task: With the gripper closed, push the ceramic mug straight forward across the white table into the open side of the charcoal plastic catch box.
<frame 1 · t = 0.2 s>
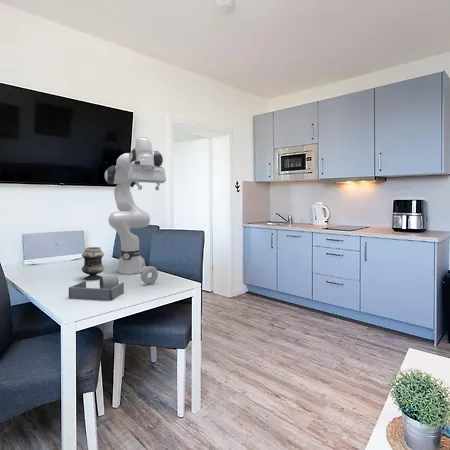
hand: (148, 189, 172), 51 cm above the table, tool tilted 20°, fingers open, 8 cm apart
ceramic mug: (107, 290, 167), on the table
catch box: (97, 295, 157), on the table
donut: (149, 284, 178), on the table
apothecary jar: (93, 278, 190), on the table
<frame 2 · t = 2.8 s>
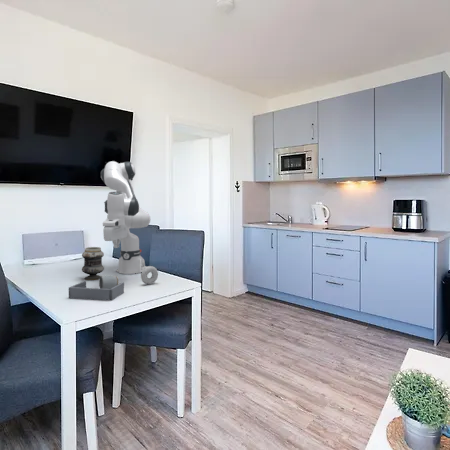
hand: (116, 247, 175), 20 cm above the table, tool pointing down, fingers closed
nothing on the table moved.
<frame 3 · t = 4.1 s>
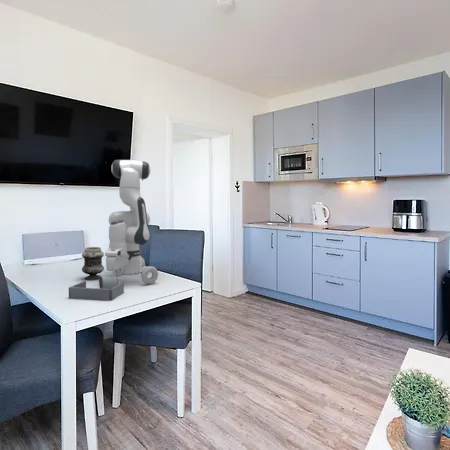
hand: (118, 276, 175), 5 cm above the table, tool pointing down, fingers closed
nothing on the table moved.
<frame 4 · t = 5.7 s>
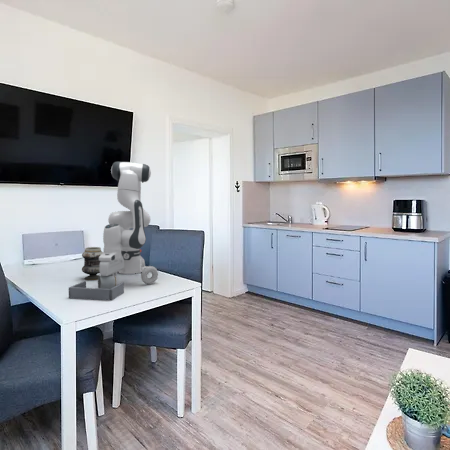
hand: (113, 280, 172), 3 cm above the table, tool pointing down, fingers closed
ceramic mug: (106, 289, 167), on the table, touching gripper
everything else where it was.
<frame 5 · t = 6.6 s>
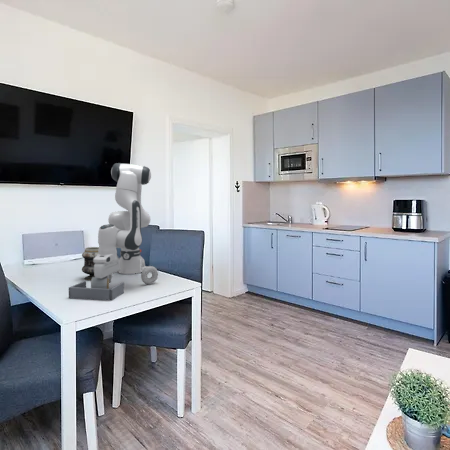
hand: (108, 283, 166), 3 cm above the table, tool pointing down, fingers closed
ceramic mug: (99, 292, 162), on the table, touching gripper
everything else where it was.
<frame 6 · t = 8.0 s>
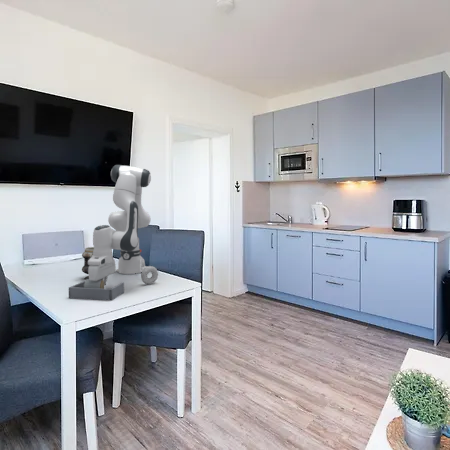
hand: (103, 285, 162), 3 cm above the table, tool pointing down, fingers closed
ceramic mug: (94, 294, 158), on the table, touching gripper
everything else where it was.
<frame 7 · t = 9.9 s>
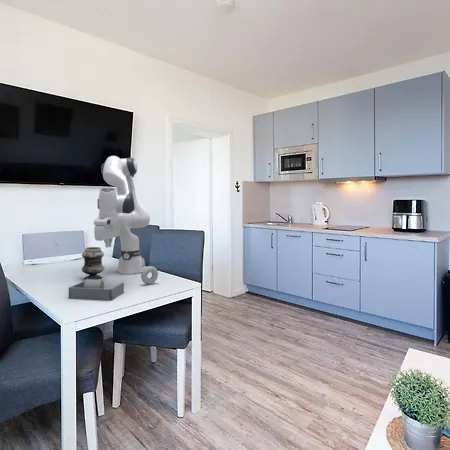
hand: (108, 247, 166), 22 cm above the table, tool pointing down, fingers closed
ceramic mug: (94, 294, 159), on the table
everything else where it was.
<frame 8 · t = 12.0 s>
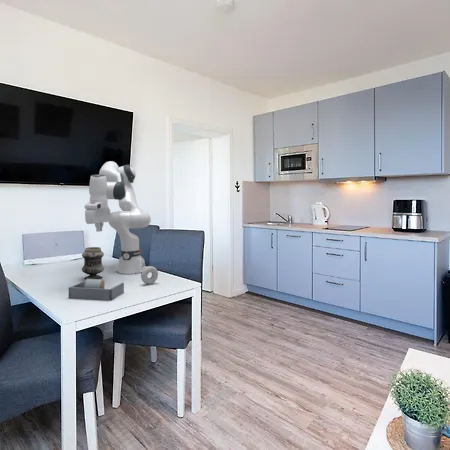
hand: (99, 231, 172), 29 cm above the table, tool pointing down, fingers closed
nothing on the table moved.
at the end: ceramic mug inside the target area on the catch box (4.2 cm from its centre), point 0.0 cm above the catch box's base; ceramic mug tilted 0° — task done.
